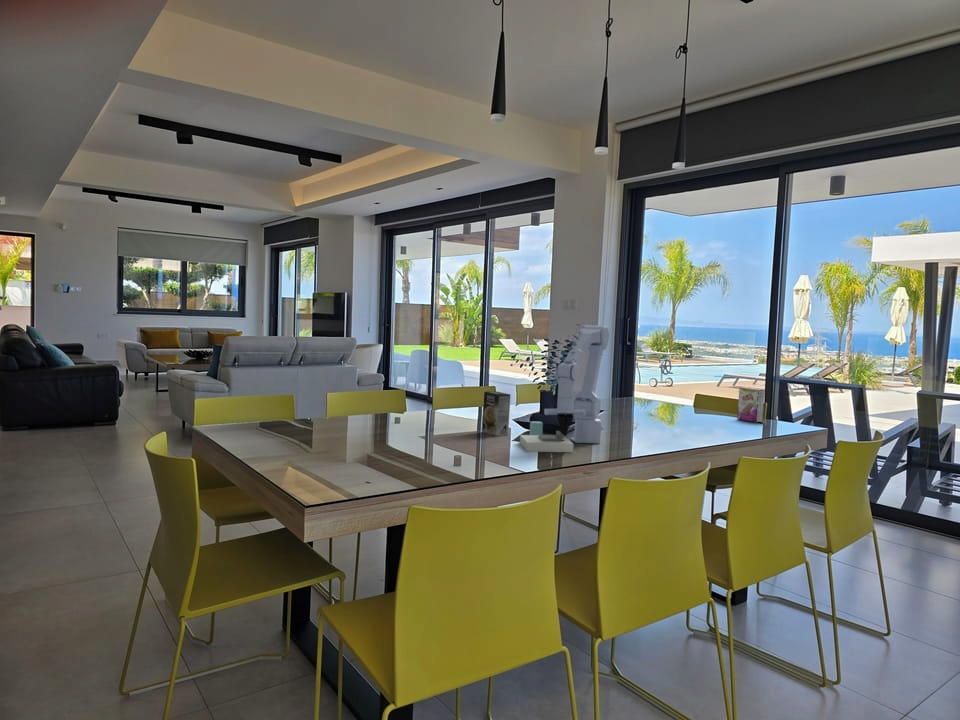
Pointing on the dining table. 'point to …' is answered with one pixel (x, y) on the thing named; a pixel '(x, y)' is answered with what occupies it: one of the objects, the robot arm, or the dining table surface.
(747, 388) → the candy bar box
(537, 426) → the plug
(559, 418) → the robot arm
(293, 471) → the dining table surface
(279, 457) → the dining table surface
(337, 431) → the dining table surface
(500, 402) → the coffee box
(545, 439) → the shutter
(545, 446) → the socket plate
